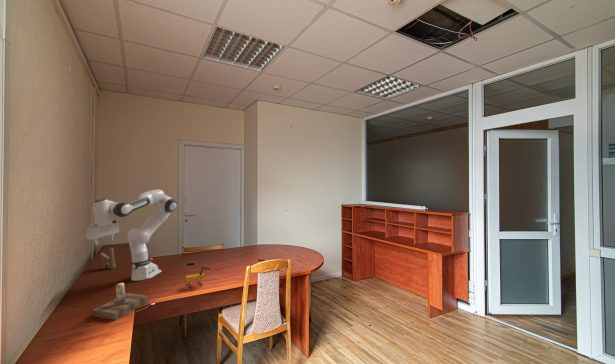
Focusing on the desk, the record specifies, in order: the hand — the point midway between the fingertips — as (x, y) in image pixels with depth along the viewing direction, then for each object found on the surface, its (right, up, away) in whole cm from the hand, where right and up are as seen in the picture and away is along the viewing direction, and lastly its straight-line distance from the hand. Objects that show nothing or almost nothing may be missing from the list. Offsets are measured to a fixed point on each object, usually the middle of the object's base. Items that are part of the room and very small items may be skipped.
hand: (104, 242), depth 189 cm
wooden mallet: (-38, -36, +57) cm, 78 cm away
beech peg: (+24, -36, -18) cm, 47 cm away
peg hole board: (+24, -37, -18) cm, 48 cm away
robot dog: (+60, -34, +11) cm, 70 cm away
